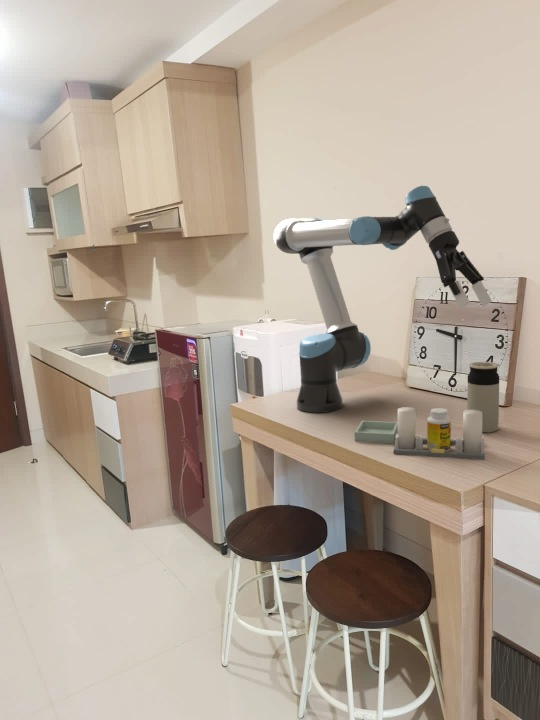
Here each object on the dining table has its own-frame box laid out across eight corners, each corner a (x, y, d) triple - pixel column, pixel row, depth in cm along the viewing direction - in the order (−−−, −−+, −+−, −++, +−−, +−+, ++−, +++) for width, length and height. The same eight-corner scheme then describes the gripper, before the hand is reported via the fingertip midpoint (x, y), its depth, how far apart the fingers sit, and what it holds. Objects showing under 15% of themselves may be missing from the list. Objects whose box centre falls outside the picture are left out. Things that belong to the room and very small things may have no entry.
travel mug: (479, 435, 144) (480, 368, 141) (461, 426, 152) (461, 363, 149) (504, 430, 147) (506, 365, 143) (485, 422, 154) (486, 360, 151)
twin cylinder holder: (393, 453, 135) (392, 415, 133) (398, 440, 144) (397, 403, 142) (484, 460, 127) (485, 419, 126) (483, 445, 137) (484, 406, 135)
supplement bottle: (440, 455, 132) (440, 414, 130) (422, 449, 137) (422, 410, 135) (455, 449, 135) (455, 410, 133) (437, 444, 140) (437, 405, 138)
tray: (354, 441, 146) (354, 432, 145) (362, 429, 155) (361, 420, 154) (393, 443, 142) (393, 434, 142) (398, 431, 151) (398, 422, 151)
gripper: (429, 226, 138) (467, 298, 133) (471, 232, 156) (507, 296, 151) (406, 243, 143) (442, 313, 138) (450, 247, 161) (484, 309, 156)
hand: (476, 304), depth 144 cm, fingers open, 13 cm apart
